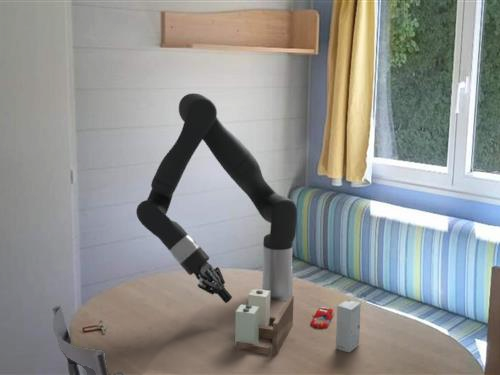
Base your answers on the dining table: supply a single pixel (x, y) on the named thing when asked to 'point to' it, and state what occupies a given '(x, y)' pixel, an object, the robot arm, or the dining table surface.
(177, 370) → the dining table surface
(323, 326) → the race car
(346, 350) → the skincare box
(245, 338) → the pale green dotted block
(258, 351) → the wooden divided rack
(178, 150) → the robot arm
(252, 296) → the white dotted block
